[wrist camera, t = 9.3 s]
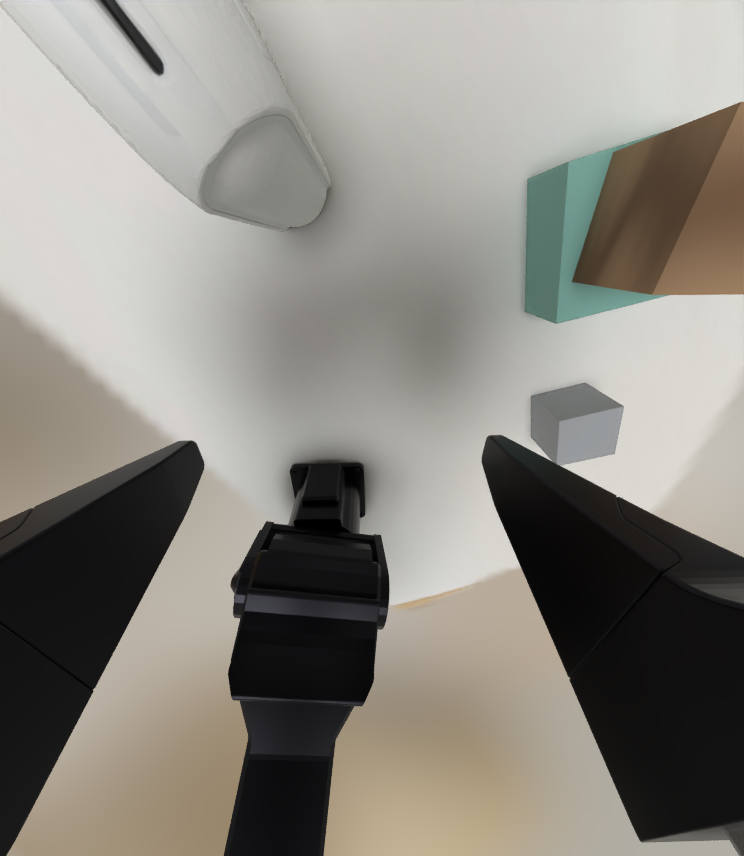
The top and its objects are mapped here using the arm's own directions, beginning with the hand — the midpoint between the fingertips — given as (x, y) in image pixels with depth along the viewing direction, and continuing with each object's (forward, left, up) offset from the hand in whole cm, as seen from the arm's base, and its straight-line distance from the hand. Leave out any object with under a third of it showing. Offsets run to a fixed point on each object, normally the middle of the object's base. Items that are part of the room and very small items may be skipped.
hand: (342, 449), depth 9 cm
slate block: (-6, -16, -13) cm, 22 cm away
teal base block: (+6, -14, -13) cm, 20 cm away
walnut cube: (+6, -14, -9) cm, 18 cm away
